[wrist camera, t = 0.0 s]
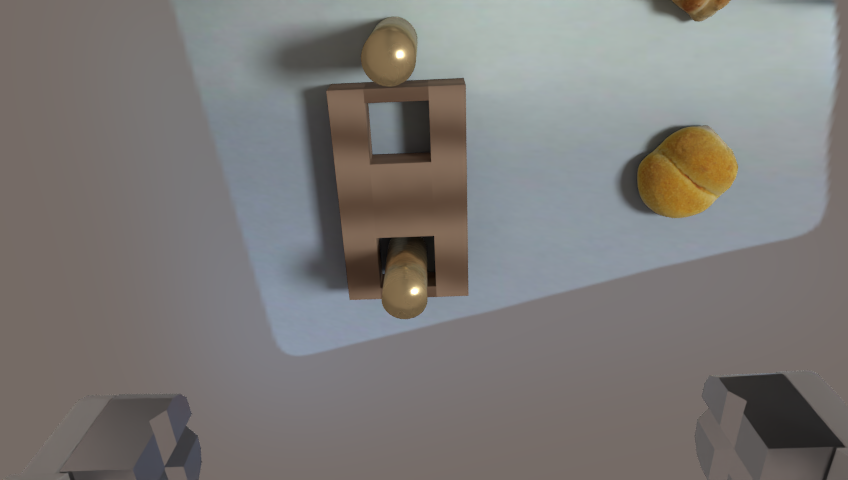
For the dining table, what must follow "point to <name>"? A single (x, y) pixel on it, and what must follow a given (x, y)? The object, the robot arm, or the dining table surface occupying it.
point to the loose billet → (390, 52)
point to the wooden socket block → (401, 184)
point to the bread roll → (686, 172)
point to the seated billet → (405, 277)
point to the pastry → (701, 7)
